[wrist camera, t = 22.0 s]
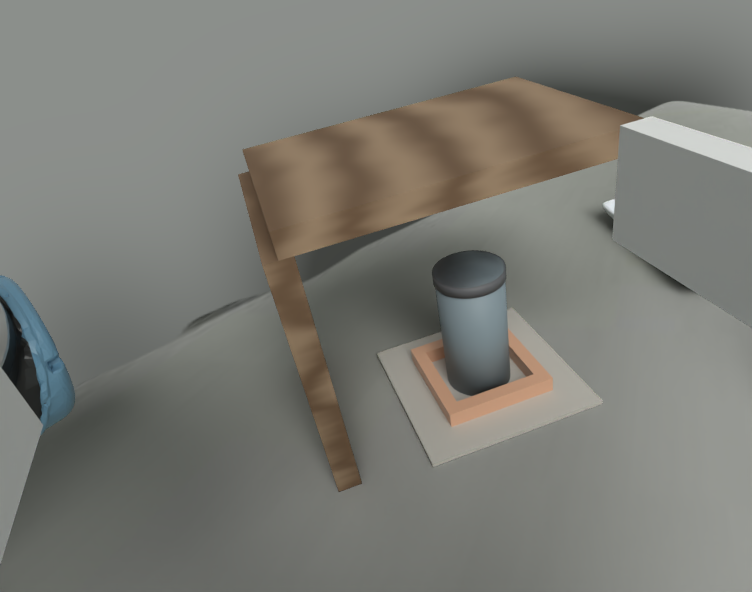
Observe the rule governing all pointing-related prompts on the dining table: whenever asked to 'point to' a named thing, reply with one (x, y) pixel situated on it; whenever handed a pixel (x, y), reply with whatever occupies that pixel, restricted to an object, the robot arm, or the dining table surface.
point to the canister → (473, 320)
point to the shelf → (403, 192)
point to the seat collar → (483, 393)
